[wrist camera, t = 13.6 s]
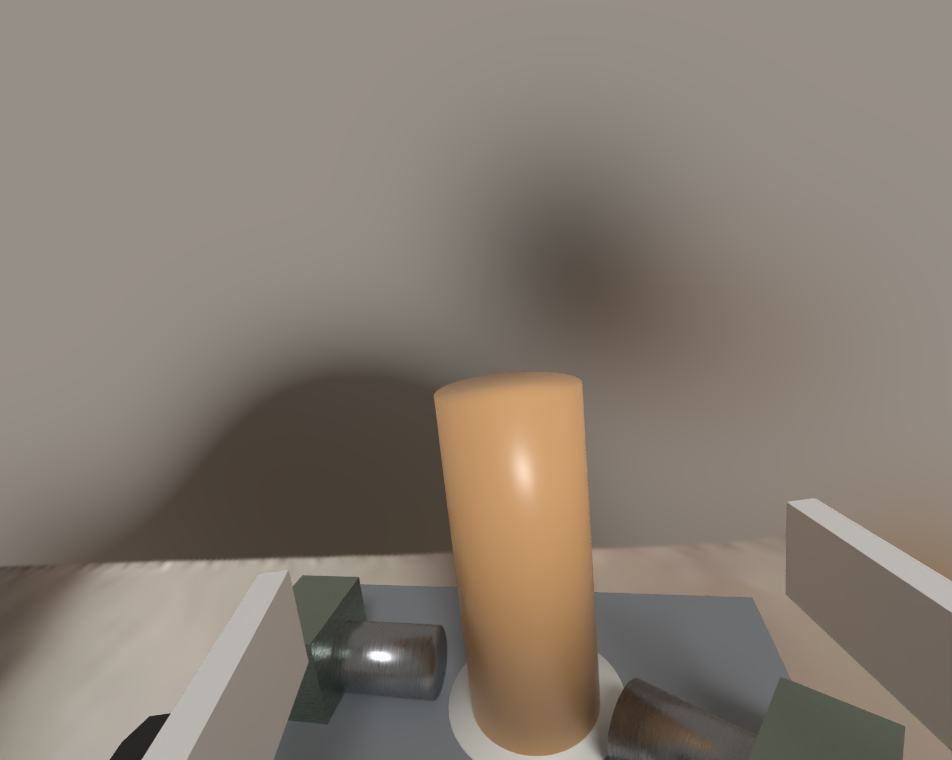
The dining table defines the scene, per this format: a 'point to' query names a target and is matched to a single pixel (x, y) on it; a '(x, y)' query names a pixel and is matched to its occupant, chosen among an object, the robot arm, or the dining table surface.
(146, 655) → the dining table surface
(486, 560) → the orange cylinder
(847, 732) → the shaft
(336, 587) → the shaft
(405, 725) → the plate
